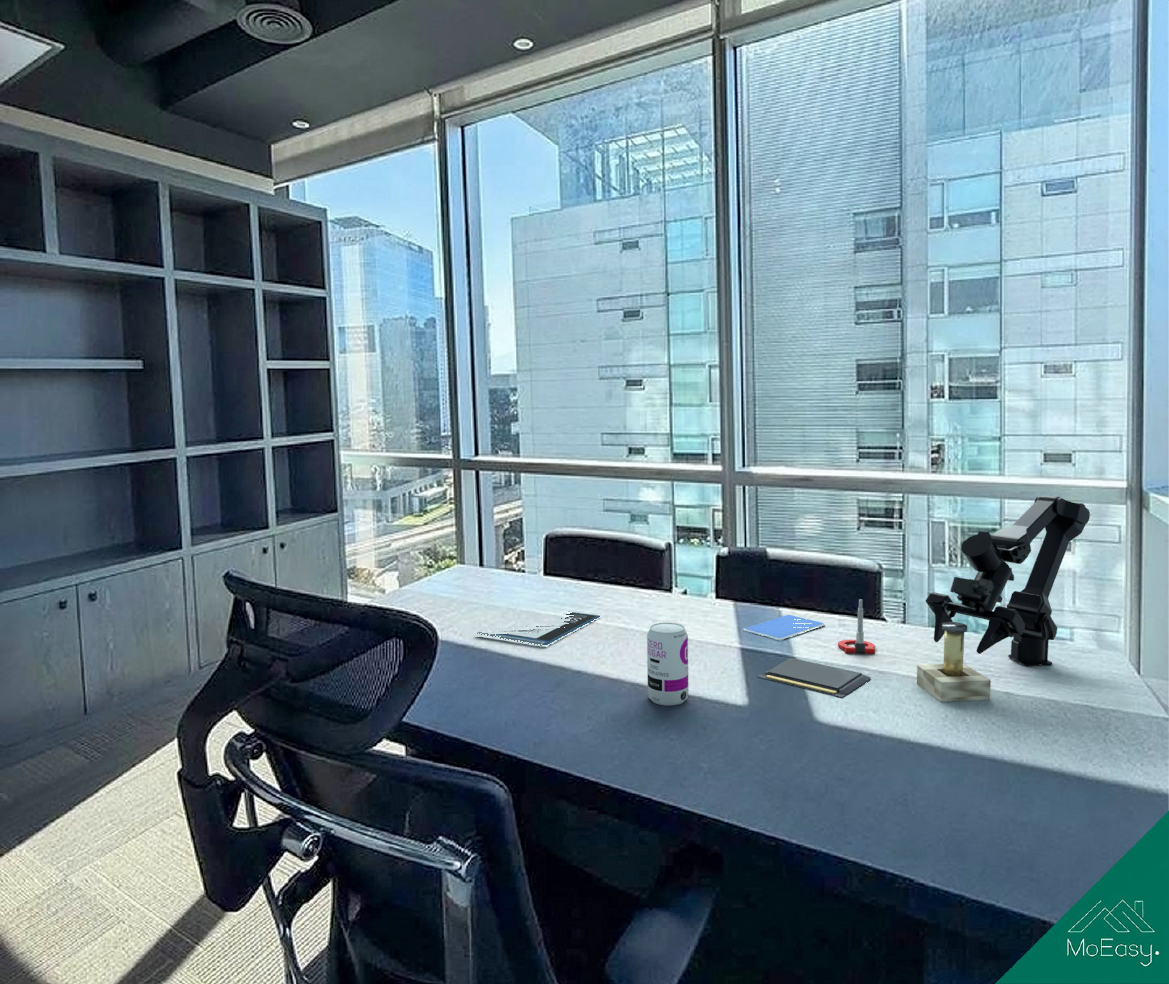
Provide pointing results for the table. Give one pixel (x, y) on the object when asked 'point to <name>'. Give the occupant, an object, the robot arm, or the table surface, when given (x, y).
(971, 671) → the socket block
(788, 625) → the tablet computer
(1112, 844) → the table surface
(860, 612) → the tow hook
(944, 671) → the brass pin
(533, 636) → the sketchbook
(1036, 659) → the robot arm
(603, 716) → the table surface
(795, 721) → the table surface
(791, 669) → the dark gray book
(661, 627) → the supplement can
